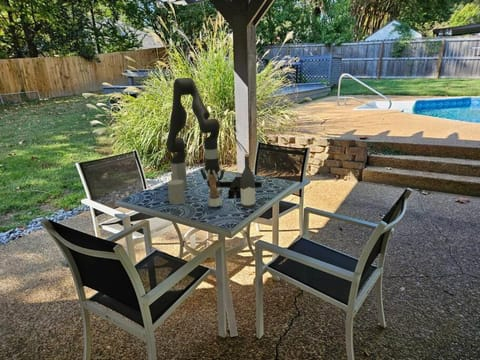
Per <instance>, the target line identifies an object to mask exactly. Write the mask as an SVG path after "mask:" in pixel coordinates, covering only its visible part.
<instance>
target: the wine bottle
mask: <svg viewBox="0 0 480 360" xmlns="http://www.w3.org/2000/svg"><path fill="white" fill-rule="evenodd" d="M240 177H241V180H240V184H241V198H240V205H241V207H243V208H247V209H250V208H254V207H255V205H256V187H255V182H256V179H255V176H254V173H253V171H252V169H251V167H250V154H249V153H245V154H244V168H243V171H242V173H241V176H240Z"/></svg>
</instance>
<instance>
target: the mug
mask: <svg viewBox="0 0 480 360" xmlns="http://www.w3.org/2000/svg"><path fill="white" fill-rule="evenodd" d="M222 190H223V189H222V187H218V188H217V193H218V194H217V195H215V196H212V195H210V194H208V196H207V197H206V201H207V206H209V207H215V208H216V207H219V206H221V205H222V202H223V191H222Z"/></svg>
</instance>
